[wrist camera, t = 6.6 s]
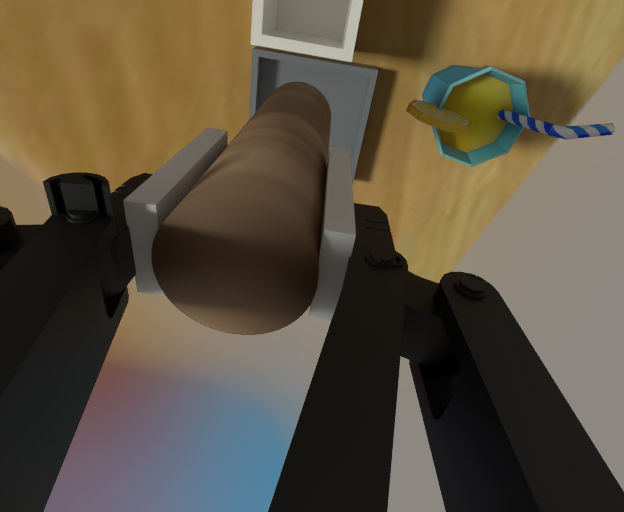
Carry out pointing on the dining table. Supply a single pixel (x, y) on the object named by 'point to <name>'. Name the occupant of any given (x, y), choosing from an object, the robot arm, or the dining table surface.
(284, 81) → the tray
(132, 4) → the dining table surface
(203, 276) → the dowel
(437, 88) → the cup
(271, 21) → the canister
